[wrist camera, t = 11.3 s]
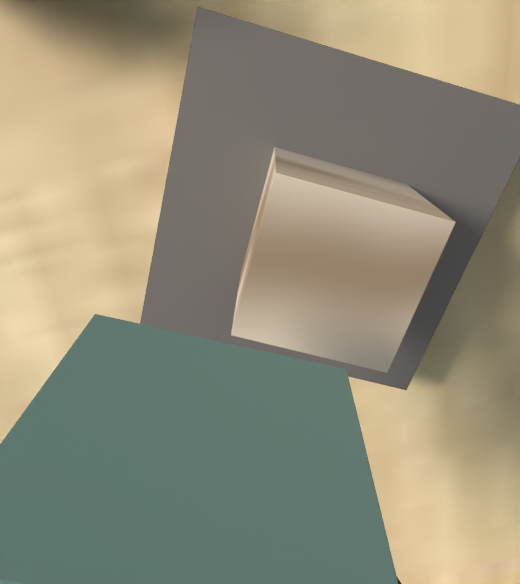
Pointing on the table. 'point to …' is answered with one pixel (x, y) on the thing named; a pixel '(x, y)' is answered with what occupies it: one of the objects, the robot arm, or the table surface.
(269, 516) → the teal block
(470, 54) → the table surface
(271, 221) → the cream block
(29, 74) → the table surface
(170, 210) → the base board
